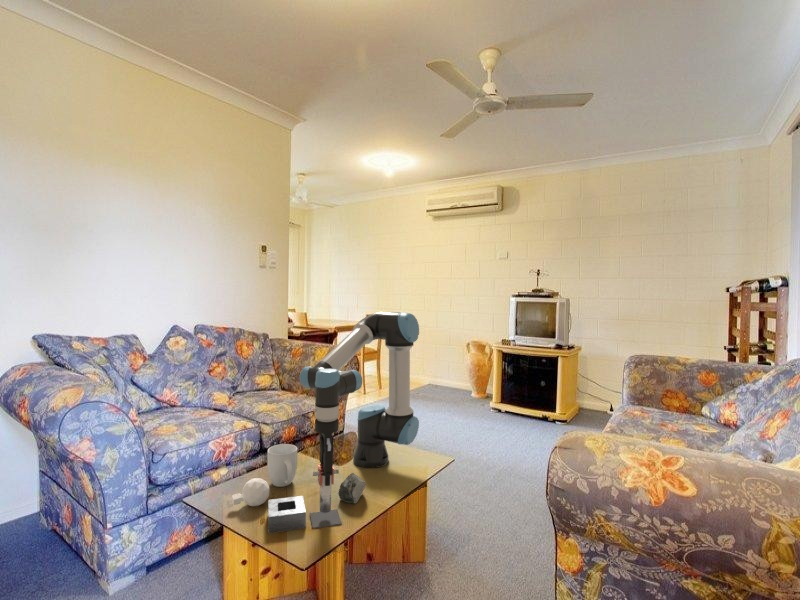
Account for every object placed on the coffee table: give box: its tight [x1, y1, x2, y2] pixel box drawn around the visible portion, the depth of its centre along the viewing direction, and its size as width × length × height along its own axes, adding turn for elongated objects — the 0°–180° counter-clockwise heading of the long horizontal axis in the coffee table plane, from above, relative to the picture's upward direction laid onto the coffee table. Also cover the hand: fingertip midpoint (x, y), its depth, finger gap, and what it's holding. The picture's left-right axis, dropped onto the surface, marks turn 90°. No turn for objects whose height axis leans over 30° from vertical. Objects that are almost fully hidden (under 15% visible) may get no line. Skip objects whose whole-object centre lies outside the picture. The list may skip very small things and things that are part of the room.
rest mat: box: [309, 509, 342, 530], centre depth 138 cm, size 9×9×1 cm
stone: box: [337, 472, 367, 504], centre depth 151 cm, size 10×10×10 cm
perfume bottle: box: [231, 477, 270, 507], centre depth 146 cm, size 9×9×12 cm
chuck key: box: [312, 463, 340, 513], centre depth 138 cm, size 8×4×14 cm, turn 107°
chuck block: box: [267, 495, 307, 534], centre depth 136 cm, size 11×11×5 cm
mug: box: [266, 443, 298, 488], centre depth 161 cm, size 15×11×13 cm
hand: (325, 490), depth 138 cm, fingers closed on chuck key, 4 cm apart
